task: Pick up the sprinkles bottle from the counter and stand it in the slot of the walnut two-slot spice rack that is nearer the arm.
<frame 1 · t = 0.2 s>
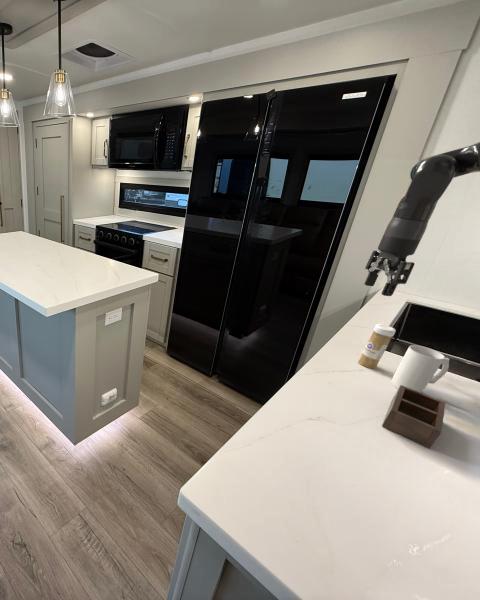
hand: (376, 290, 91), 24 cm above the countertop, tool pointing down, fingers open, 8 cm apart
mug: (411, 389, 87), on the countertop
sprinkles bottle: (366, 365, 97), on the countertop
rack: (408, 422, 75), on the countertop
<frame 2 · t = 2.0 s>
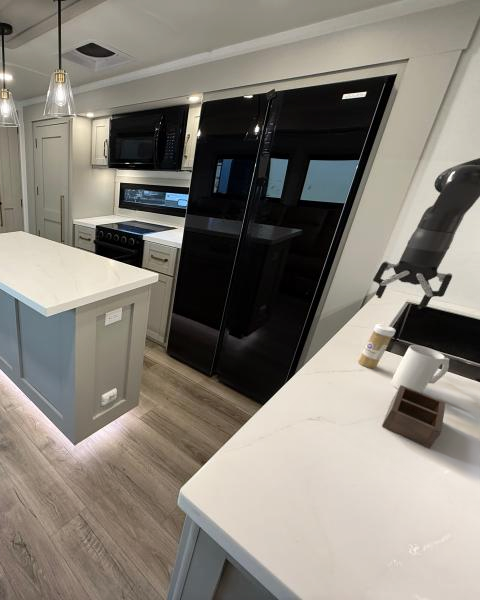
hand: (398, 302, 88), 21 cm above the countertop, tool pointing down, fingers open, 8 cm apart
nothing on the countertop moved.
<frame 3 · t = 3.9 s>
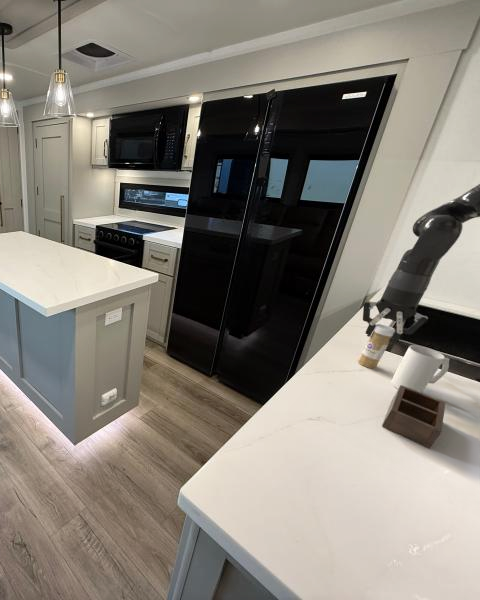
hand: (379, 339, 93), 9 cm above the countertop, tool pointing down, fingers closed on sprinkles bottle, 4 cm apart
sprinkles bottle: (366, 365, 97), on the countertop, touching gripper
everything else where it was.
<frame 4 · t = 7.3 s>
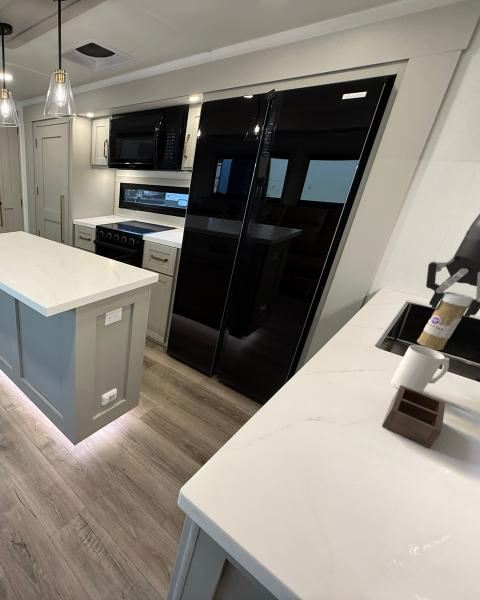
hand: (449, 311, 71), 26 cm above the countertop, tool pointing down, fingers closed on sprinkles bottle, 4 cm apart
sprinkles bottle: (429, 346, 75), point 17 cm above the countertop, touching gripper
everything else where it was.
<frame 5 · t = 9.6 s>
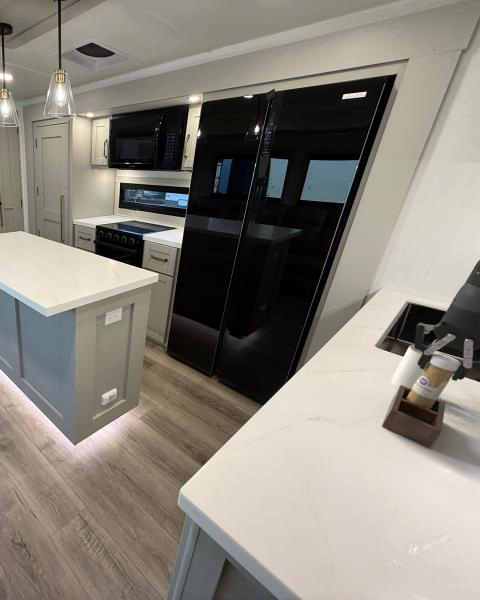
hand: (437, 372, 72), 13 cm above the countertop, tool pointing down, fingers closed on sprinkles bottle, 4 cm apart
sprinkles bottle: (417, 404, 75), point 3 cm above the countertop, touching gripper
everything else where it was.
when the fingers open (9 cm above the countertop, at t = 11.1 s): sprinkles bottle stays where it is, resting in rack.
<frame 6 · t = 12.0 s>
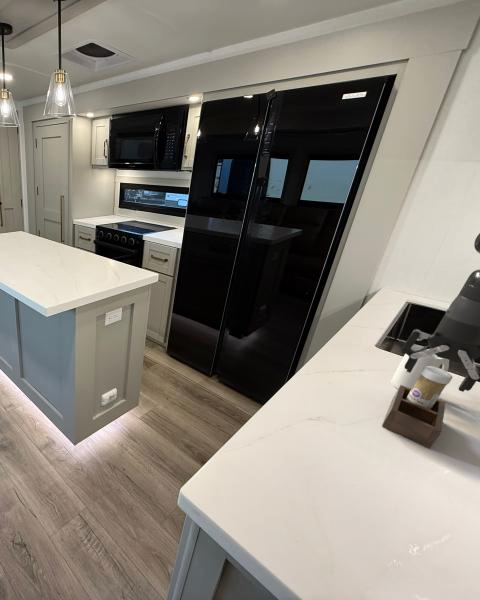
hand: (433, 380, 72), 11 cm above the countertop, tool pointing down, fingers open, 8 cm apart
sprinkles bottle: (410, 416, 77), resting in rack
everything else where it was.
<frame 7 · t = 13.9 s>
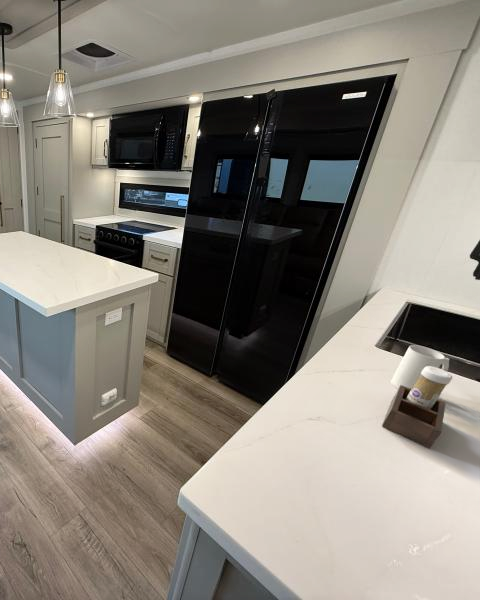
nothing on the countertop moved.
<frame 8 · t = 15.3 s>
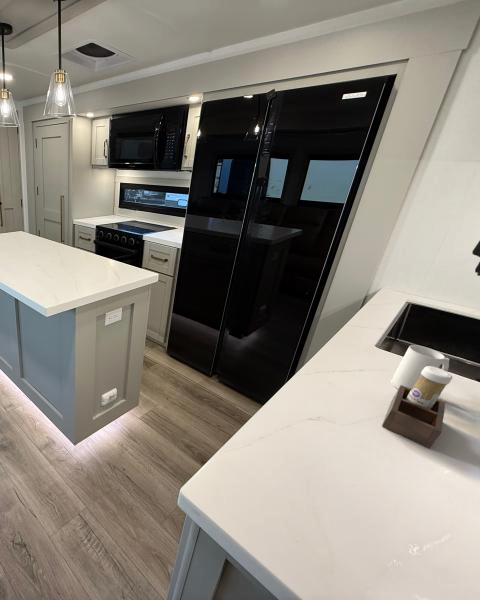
nothing on the countertop moved.
at the end: sprinkles bottle 0.1 cm from the target spot in the rack, point 0.0 cm above the rack's base; sprinkles bottle tilted 0°; the gripper is holding nothing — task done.
